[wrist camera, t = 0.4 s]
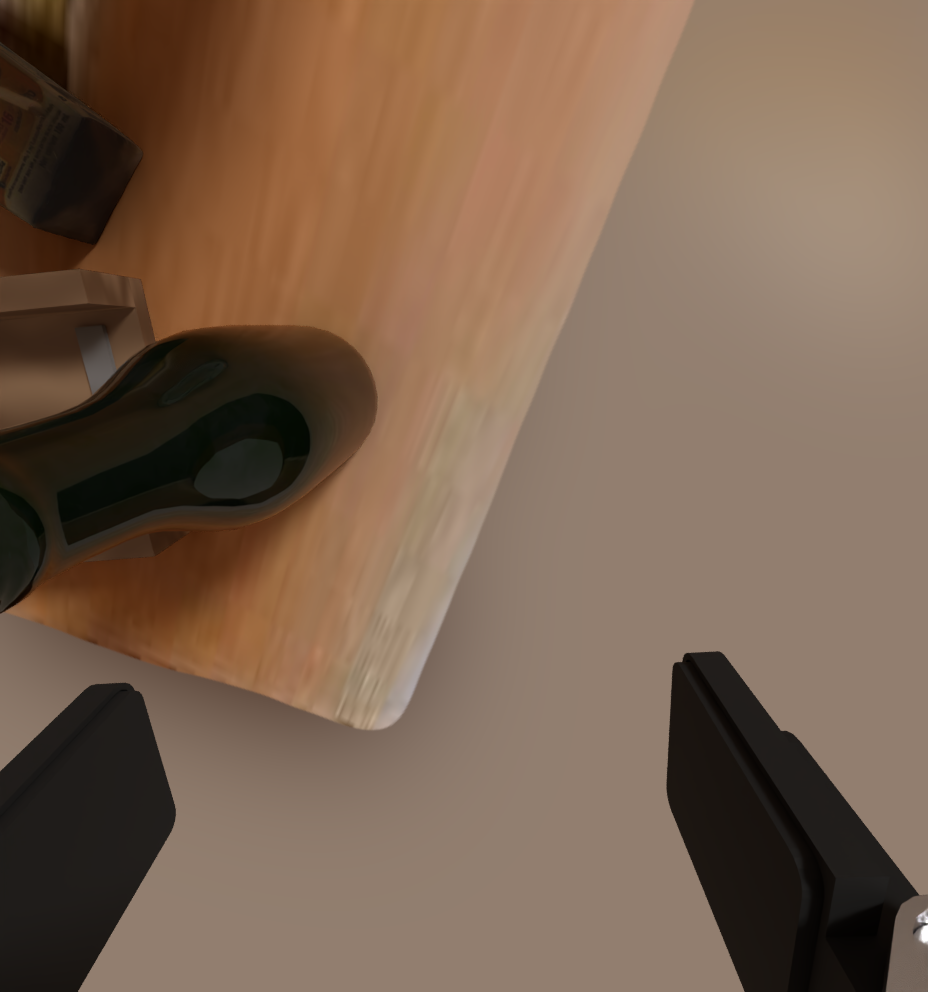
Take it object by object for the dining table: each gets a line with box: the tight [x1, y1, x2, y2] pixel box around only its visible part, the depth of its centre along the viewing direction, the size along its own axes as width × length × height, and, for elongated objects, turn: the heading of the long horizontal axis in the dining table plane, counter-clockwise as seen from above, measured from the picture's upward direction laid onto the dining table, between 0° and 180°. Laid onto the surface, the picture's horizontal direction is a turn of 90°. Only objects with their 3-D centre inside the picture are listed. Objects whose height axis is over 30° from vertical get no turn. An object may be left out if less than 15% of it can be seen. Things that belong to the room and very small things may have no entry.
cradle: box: [0, 269, 190, 562], centre depth 40 cm, size 19×18×6 cm
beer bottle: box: [0, 325, 377, 614], centre depth 27 cm, size 10×10×33 cm
